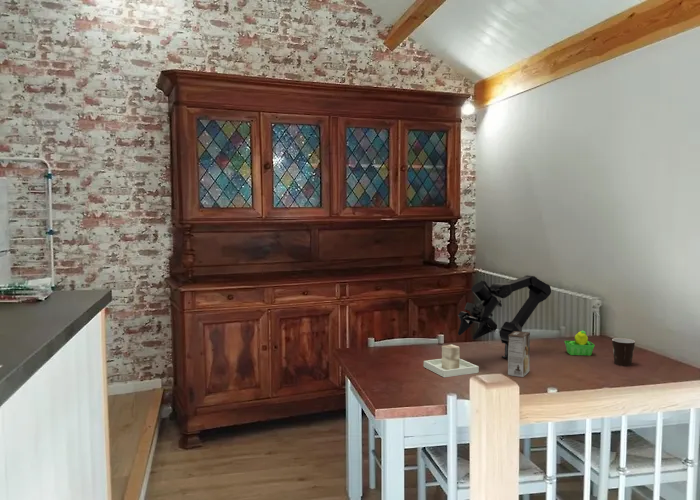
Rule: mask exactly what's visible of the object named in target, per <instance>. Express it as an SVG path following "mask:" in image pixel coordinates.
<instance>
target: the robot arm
mask: <svg viewBox="0 0 700 500" xmlns="http://www.w3.org/2000/svg"><path fill="white" fill-rule="evenodd" d="M524 288H527V289H529V290H528V298H527V299H526V301H525V302H524V303H523V305H522V306H521V308H520V309H519V310H518V312H517V313H516V315H515V316H514V318H513V319H512V320H511V321H504V323H503V324H502V326H501V327H500V330H499V332H498V333H499V338H500V340H501V341H500V342H501V344H504V355H502V356H501V357H502V358H503V359H507V360H508V335H509V334H511V333H512V332H514V331H520V332H523V327H524V326H525V324H526V322H527V321H528V320H529V318H530V316H531V315H532V314H533V312H534V311H535V309H536V308H537V306H538V305H539V304H540V303H541V302H544V301H545V300H547V298H548V297H550V295H551V293H552V288H551V286H550V284H548V283H545V281H542V280H541V279H538V277H536V276H535V275H529V274H527V275H524V276H522V277H520V278H517V279H516V278H515V279H513V280H510V281H507V282H497V283H496V282H495V283H492V284H491V285H490V286H489V285H488V284H487V282H486V281H485V280H480V282H477V283H476V284H474V285H472V287H471V292H472V293H473V294H474V295H475V296H476V298H477V299H478V301H481V303H472V302H466V304H465V307H464V310H465V311H460V312H459V313H458V314H457V316H458V318H459V320H460V325H459V328H458V331H457V335H458V336H461V335H462V334H464V333H465V332H466V331H467V330H469V328H470V327H471V325H472V324H474V323H477V324H479V326H478V328H477V329H476V331H475V333H474V335H473V336H472V339H473V340H474V341H475V340H477V339H479V338H481V337H482V336H485V335H487V334H490V333H492V332H496V330H497V329H498V325H497V323H496V322H495V320H494V319H493V318H492V317H493V312H494V310H495V309H496V308H497V307H499V308H502V305H503V304H502V300H500V299H506V298H507V297H509V296H511V295H512V293H513V292H516V291H518V290H521V289H524ZM498 298H500V299H498ZM466 311H468V312H466ZM469 312H470V313H469Z"/></svg>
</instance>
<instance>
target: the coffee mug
mask: <svg viewBox="0 0 700 500" xmlns="http://www.w3.org/2000/svg"><path fill="white" fill-rule="evenodd" d="M611 341H612V352H613V353H612V354H613V362H614V365H616V366H620V367H630V366H632V363H633V358H634V357H633V356H634V350H635V345H636V341H635V340H634V339H630V338H624V337H615V338H612V339H611Z"/></svg>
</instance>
